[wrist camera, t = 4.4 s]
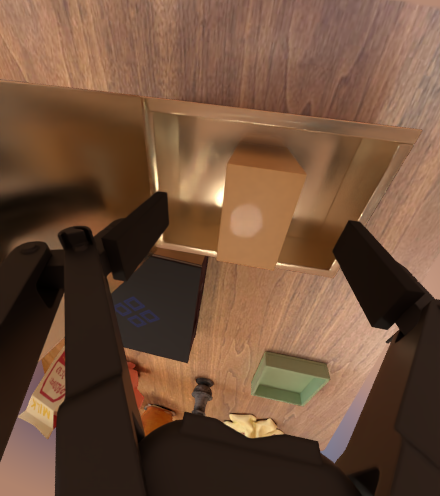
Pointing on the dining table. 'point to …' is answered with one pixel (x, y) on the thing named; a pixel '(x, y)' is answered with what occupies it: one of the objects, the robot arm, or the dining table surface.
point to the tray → (288, 378)
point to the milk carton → (47, 397)
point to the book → (162, 304)
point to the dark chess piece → (202, 395)
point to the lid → (68, 167)
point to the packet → (258, 204)
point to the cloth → (253, 426)
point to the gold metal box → (277, 135)
